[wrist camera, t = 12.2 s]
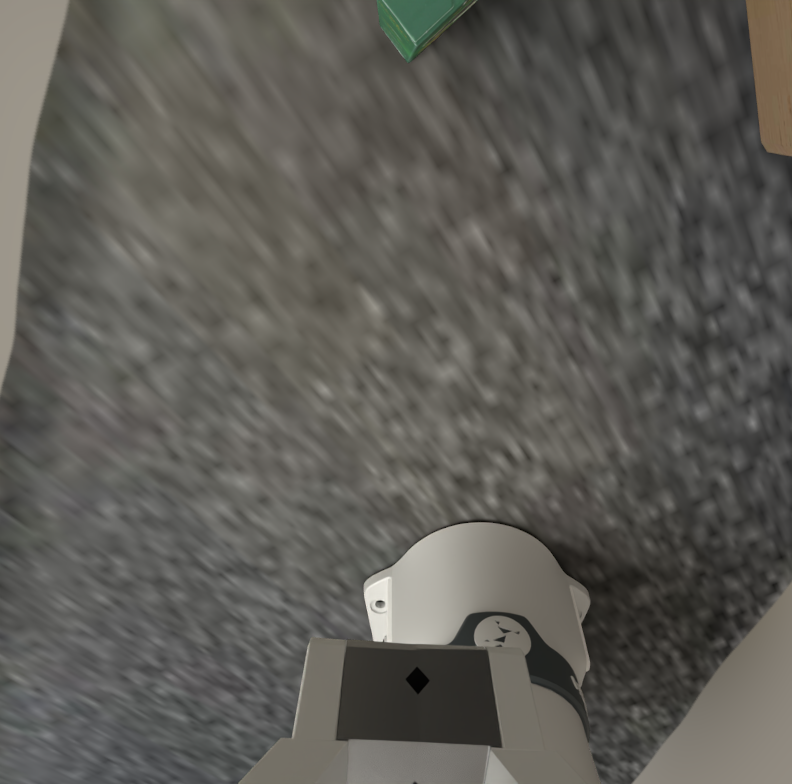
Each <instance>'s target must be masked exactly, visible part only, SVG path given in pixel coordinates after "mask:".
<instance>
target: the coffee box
mask: <svg viewBox="0 0 792 784" xmlns="http://www.w3.org/2000/svg"><path fill="white" fill-rule="evenodd" d="M477 1H478V0H377V6H378V13H379V22H380V27H381V28H382V29H383V31H384V32H385V33H386V35H387V36H388V37H389V39H390V40H391V41H392V42H393V44H394V45H395V47H396V48H397V49H398V51H399V52H400V54H401V55H402V56H403V57H404V58H405V60H406V61H407V62H408V63H410V62H411V61H412V60H413V59H414V58H415V57H417V56H418V55H419V54H420V53H421V52H422V51H423V50H424V49H425V48H426V47H428V46H429V45H430V44H431V43H432V42H433V41H434V40H435V39H437V38H438V37H439V36H440V35H441V34H442V33H443V32H444V31H445V30H446V29H447V28H449V27H450V26H451V25H452V24H453V23H454V22H455V21H456V20H457V19H458V18H459V17H460V16H462V15H463V14H464V13H465V12H466V11H467V10H468V9H469V8H470V7H471V6H472V5H473V4H474V3H476V2H477Z"/></svg>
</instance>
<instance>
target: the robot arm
mask: <svg viewBox="0 0 792 784" xmlns="http://www.w3.org/2000/svg"><path fill="white" fill-rule="evenodd" d="M364 597H365V602H366V607H367V612H368V617H369V621H370V626H371V631H372V636H373V640H374V641H365V640H351V639H347V641H346V640H340V639H328V638H315V637H311V640H310V642H309V644H308V648H307V654H306V659H305V665H304V671H303V677H302V682H301V688H300V694H299V700H298V705H297V711H296V717H295V723H294V728H293V734H292V738H280V739H279V740H278V741H277V742H276V743H275V745H274V746H273V747H272V748H271V749H270V750H269V751H268V752H267V753H266V754H265V755H264V756H263V757H262V758H261V759H260V761H259V762H258V763H257V764H256V765H255V766H254V767H253V768H252V769H251V770H250V771H249V772H248V773H247V774H246V775H245V776H244V778H243V779H242V780H241V781H240V782H239V783H238V784H601V782H600V779H599V776H598V773H597V770H596V767H595V764H594V761H593V758H592V754H591V751H590V748H589V744H588V743H589V738H590V728H589V721H588V713H587V707H586V703H585V699H584V695H583V693H582V690H581V688H580V687H581V686H582V682H583V679H584V676H585V672H587V671H589V669H590V660H589V655H588V651H587V647H586V643H585V638H584V634H583V630H582V626H581V623H582V621H583V619H584V617H585V615H586V613H587V611H588V609H589V607H590V597H589V593H588V591H587V589H586V588H585V587H584V586H583V585H582V584H580V583H579V582H577V581H576V580H574V579H573V578H571V577H569V576H568V575H566V574H565V573H564V572H563V570H562V569H561V568H560V566H559V564H558V563H557V561H556V559H555V558H554V556H553V555H552V553H551V552H550V551H549V550H548V549H547V548H546V547H545V546H544V545H543V544H542V543H541V542H540V541H538V540H537V539H536V538H534V537H533V536H531V535H529V534H527V533H525V532H523V531H521V530H519V529H516V528H513V527H510V526H506V525H502V524H496V523H486V522H475V523H464V524H458V525H454V526H450V527H447V528H444V529H441V530H439V531H436V532H434V533H432V534H430V535H428V536H427V537H425V538H423V539H422V540H420V541H419V542H417V543H416V544H415V545H414V546H413V547H411V548H410V549H409V550H408V551H407V552H406V554H405V555H404V556H403V557H402V558H401V559H400V560H399V561H398V562H397V563H396V564H394V565H393V566H392V567H390V568H387V569H385V570H383V571H381V572H378V573H377V574H375V575H373V576H371V577H370V578H368V579H367V580H366V582H365V583H364ZM378 600H382V601H383V602H378Z"/></svg>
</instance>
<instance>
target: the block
mask: <svg viewBox="0 0 792 784" xmlns="http://www.w3.org/2000/svg"><path fill="white" fill-rule="evenodd" d="M746 6H747V16H748V25H749V34H750V43H751V52H752V62H753V71H754V80H755V89H756V99H757V108H758V117H759V126H760V136H761V142H762V144H763V146H764V147H765V149H766V150H767V152H770V153H775V154H781V155H787V156H792V0H746Z"/></svg>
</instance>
